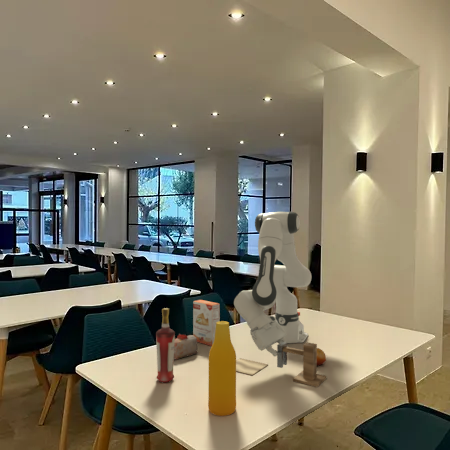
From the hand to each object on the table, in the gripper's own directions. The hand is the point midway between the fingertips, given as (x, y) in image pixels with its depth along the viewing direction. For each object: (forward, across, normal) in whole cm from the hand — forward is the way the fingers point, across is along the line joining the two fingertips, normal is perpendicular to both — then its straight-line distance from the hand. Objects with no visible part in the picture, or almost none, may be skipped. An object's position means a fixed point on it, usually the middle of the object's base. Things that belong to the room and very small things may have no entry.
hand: (281, 352), depth 165 cm
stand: (+12, 0, +1) cm, 12 cm away
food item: (-27, -6, +40) cm, 49 cm away
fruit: (+12, +18, +1) cm, 22 cm away
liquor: (-18, -32, +31) cm, 48 cm away
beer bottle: (+4, -40, +8) cm, 41 cm away
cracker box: (-29, +16, +42) cm, 53 cm away
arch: (+4, 0, +4) cm, 6 cm away
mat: (-5, -2, +17) cm, 18 cm away
